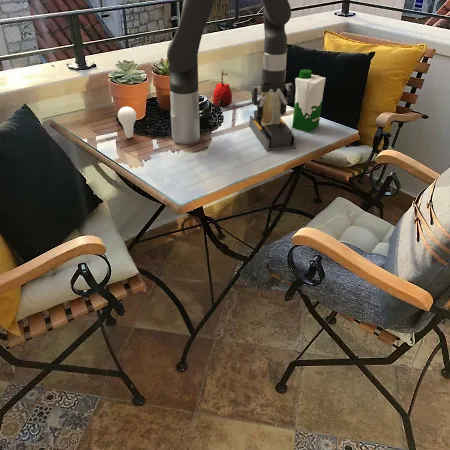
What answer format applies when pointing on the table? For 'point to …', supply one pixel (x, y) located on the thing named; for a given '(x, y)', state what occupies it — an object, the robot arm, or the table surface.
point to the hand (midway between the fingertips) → (271, 115)
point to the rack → (272, 134)
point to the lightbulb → (127, 120)
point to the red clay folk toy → (222, 94)
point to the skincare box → (271, 109)
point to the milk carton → (308, 101)
